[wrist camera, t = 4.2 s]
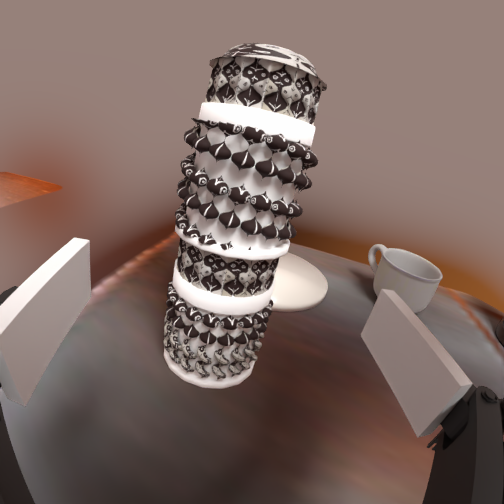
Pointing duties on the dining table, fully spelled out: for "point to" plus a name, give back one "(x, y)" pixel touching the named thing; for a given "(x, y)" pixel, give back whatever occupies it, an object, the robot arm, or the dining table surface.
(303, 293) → the candle plate
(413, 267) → the teacup
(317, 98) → the decorative candle
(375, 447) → the dining table surface
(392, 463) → the dining table surface
